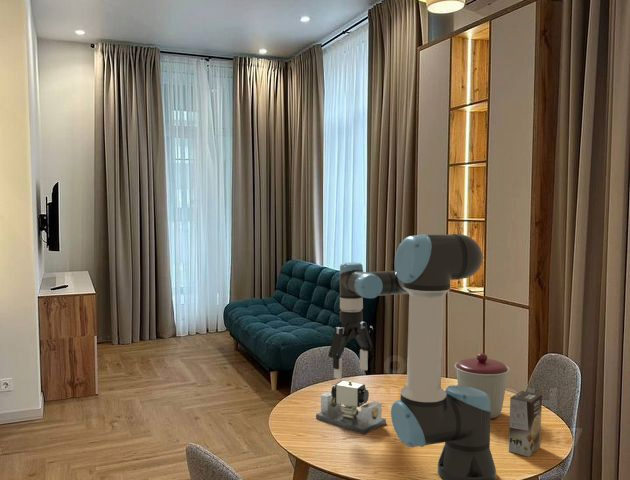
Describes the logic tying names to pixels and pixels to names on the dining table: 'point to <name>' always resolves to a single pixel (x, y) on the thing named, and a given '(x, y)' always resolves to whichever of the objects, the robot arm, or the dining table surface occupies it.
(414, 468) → the dining table surface
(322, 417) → the fittings plate
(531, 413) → the coffee box
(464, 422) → the robot arm
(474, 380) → the canister
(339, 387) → the pneumatic valve
